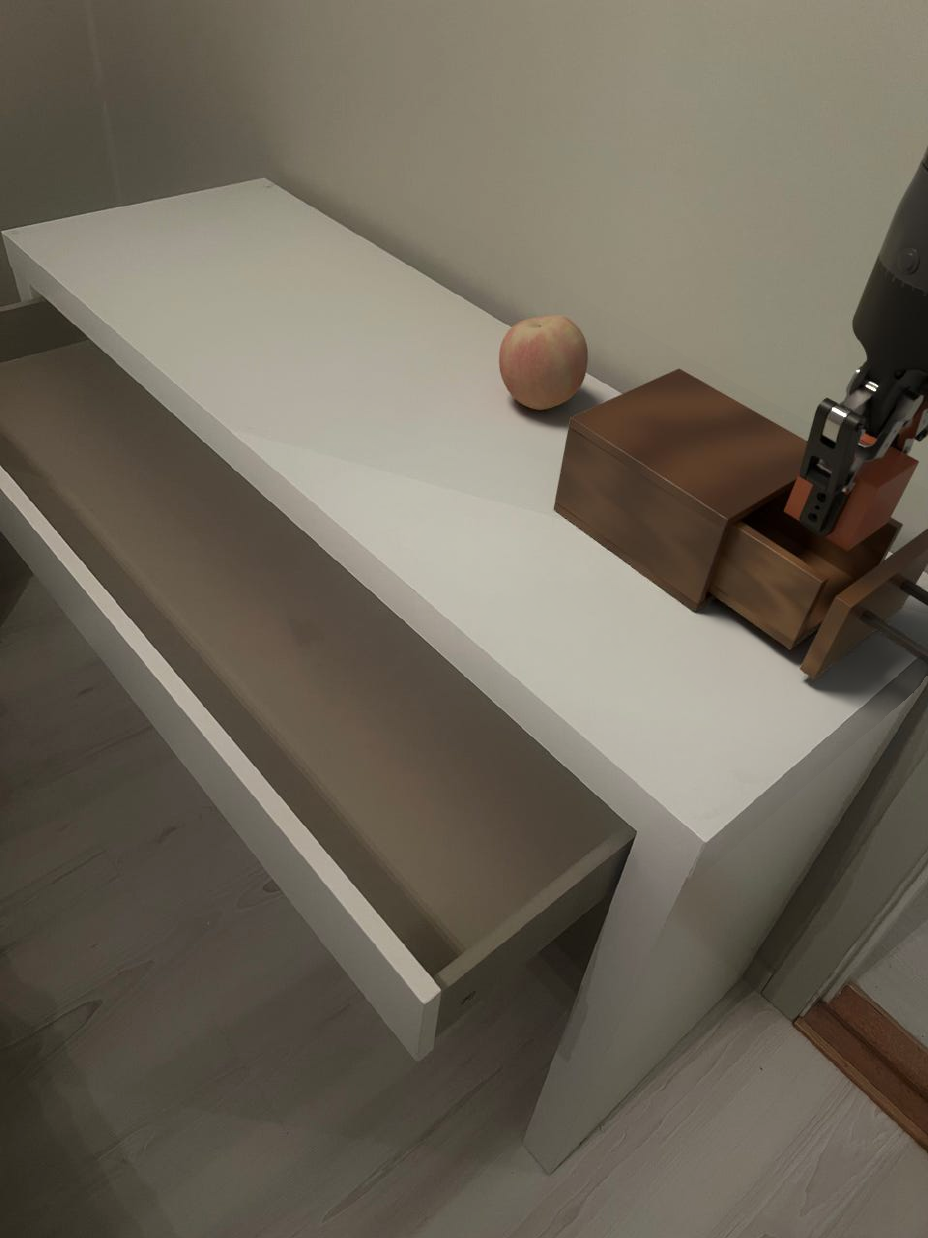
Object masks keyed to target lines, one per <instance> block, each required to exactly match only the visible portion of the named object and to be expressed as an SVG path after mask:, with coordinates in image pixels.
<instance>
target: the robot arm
mask: <svg viewBox="0 0 928 1238" xmlns="http://www.w3.org/2000/svg"><path fill="white" fill-rule="evenodd" d="M889 224H890V225H889V227H888V230H887V232H886V235H885V237H884V240H883V242H882V245H881V247H880V249H879V252H878V255H877V257H876V259H875V261H874V265H873V267H872V270H871V272H870V274H869V277H868V279H867V282H866V285H865V287H864V290H863V292H862V295H861V297H860V300H859V302H858V304H857V307H856V310H855V312H854V315H853V318H852V321H851V324H852V325H851V327H852V332H853V334H854V336H855V338H856V339H857V341H859V342H860V344H861V346H862V347H863V349H864V352H865V355H866V360H865V361H864V362H863V363H862V365H861V366H859V367H858V368H857V369H856V371H854V374H853V375H852V377H851V379H850V380H849V382H848V384H847V385H846V387H845V397H844V399H843V400H842V401H841V402H840V403H839V402H837V401H834V400H833V399H831V398H829V397H825V398H824V399H823V400H822V401H821V402H820V403H819V404H818V405H817V407H816V410H815V412H814V415H813V419H812V423H811V428H810V431H809V434H808V439H807V441H808V442H807V446H806V449H805V453H804V457H803V461H802V465H801V468H800V472H799V477H801V478H803V479H805V480H806V481H808V482H810V483H811V484H813V486H812V489H811V491H810V493H809V496H808V498H807V500H806V503H805V505H804V507H803V510H802V512H801V514H800V517H799V521H800V523H801V525H802V526H804V527H805V528H807V529H809V530H810V531H812V532H814V533H815V534H817V535H818V536H820V537H826V536H828V535H829V534H831V533H832V532H833V531H834V529H835V527H836V525H837V523H838V521H839V518H840V516H841V514H842V512H843V510H844V508H845V506H846V503H847V501H848V499H849V497H850V495H851V493H852V491H853V490H854V488H855V487H856V485H857V482H858V481H859V479H860V477H861V476H862V474H863V473H864V471H865V469H866V468H867V466H868V464H869V463H870V462H874V461H879V460H880V459H882V457H883V456H884V454H885V453H886V451H887V449H888V448H889V446H892V447H894V448H896V449H897V450H899V451H901V452H903V453H905V454H907V455H909V454H910V452H911V451H912V447H913V446H914V445H913V444H914V442H915V441H917V442H919V443H920V442H922V441H924V439H926V438H927V437H928V145H927V146H926V149H925V151H924V154H923V156H922V159H921V160H920V162H919V165H918V167H917V169H916V171H915V173H914V175H913V177H912V179H911V181H910V183H909V184H908V186H907V187H906V189H905V191H904V193H903V195H902V197H901V199H900V201H899V203H898V204H897V207H896V209H895V212H894V214H893V217H892V219H891V222H890V223H889ZM864 433H865V434H867V435H869V436H871V437H874V438H876V439H877V440H876V441H875V443H874V444H872V445H870V444H869V443H867V442H865V441H863V440H861V439H860V437H862V436H863V435H864ZM854 455H855V457H856V459H855V461H854V463H853V465H852V462H853V458H854ZM851 465H852V466H851Z"/></svg>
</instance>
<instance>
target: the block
mask: <svg viewBox="0 0 928 1238" xmlns="http://www.w3.org/2000/svg"><path fill="white" fill-rule="evenodd" d="M860 439H861V440H863V441H865V442H867V443H869V444H870V445H872V444H874V443H875V441H876V440H877V439H876V438H874V437H871V436H869V435H867V434H865V433H864V435H863V436H862V437H860ZM855 459H856V457H855V455H854V458H853V462H852V465H853V463H854V461H855ZM919 463H920V461H919V460H917V459H916V458H914V457H913V456H910V455H909V454H908V455H907V454H905V453H903V452H901V451H899V450H897V449H896V448H894V447H892V446H889V448H888V449H887V451H886V453H885V454H884V456H883V457H882V459H880V460H879V461H874V462H870V463H869V464H868V466H867V468H866V469H865V471H864V473H863V474H862V476H861V477H860V479H859V481H858V482H857V485H856V487H855V488H854V490H853V491H852V493H851V495H850V497H849V499H848V501H847V503H846V506H845V508H844V510H843V512H842V514H841V516H840V518H839V521H838V523H837V525H836V527H835V529H834V531H833V532H832V533H831V534H829V535H828V536H826V537H825V538H827V539H829V540H830V541H832V542H833V543H835V544H837V545H838V546H840V547H841V548H843V549H845V550H846V551H848V550H850V549H851V548H853V547H854V546H856V545H857V544H858V543H860V542H861V541H863V540H864V539H865V538H867V537H868V536H870V535H871V534H873V533H874V532H875V531H877V530H878V529H880V528H881V527H882V526H884V525H885V524H887V523H888V522H889V520H890V518H892V516H893V514H894V512H895V510H896V508H897V506H898V504H899V502H900V500H901V498H902V496H903V494H904V492H905V491H906V488H907V487H908V485H909V483H910V481H911V480H912V477H913V475H914V473H915V471H916V469H917V468H918V465H919ZM852 465H851V466H852ZM812 486H813V484H811V483H810V482H808V481H806V480H805V479H803V478H801V477H799V475H798V477H797V480H796V482H795V485H794V487H793V490H792V492H791V495H790V497H789V500H788V502H787V504H786V507H785V509H784V512H785V513H787V514H788V515H790V516H792V517H793V518H795V519H796V520H798V521H799V517H800V514H801V512H802V510H803V507H804V505H805V503H806V500H807V498H808V496H809V493H810V491H811V489H812Z"/></svg>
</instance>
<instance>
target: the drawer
mask: <svg viewBox="0 0 928 1238" xmlns="http://www.w3.org/2000/svg"><path fill="white" fill-rule="evenodd" d="M792 490H793V487H792V488H791V489H789V490H787V491H786V492H784V493H783V494H781V495H779V496H778V497H776V498H774V499H773V500H771V501H769V502H768V503H766V504H765V505H763V506H761V507H760V508H758V509H756V510H755V511H753V512H751V513H750V514H748V515H746V516H745V517H743V518H742V519H740V520H738V521H737V522H735V523H733V524H732V525H731V527H730V530H729V533H728V535H727V538H726V541H725V544H724V546H723V549H722V552H721V555H720V557H719V560H718V563H717V566H716V569H715V571H714V574H713V577H712V580H711V582H710V585H709V588H708V592H709V593H711V594H712V595H714V596H715V597H716V599H718V600H719V601H720V602H722V603H724V604H725V605H726V606H727V607H729V608H731V609H732V610H733V611H735V612H736V613H738V615H740V616H741V617H743V618H745V619H746V620H747V621H749V622H750V623H752V624H753V625H754V626H755V627H757V628H759V629H760V630H761V631H762V632H764V633H765V634H767V635H768V636H770V637H771V638H773V639H774V640H776V641H777V642H778V643H780V644H781V645H782V646H784V647H785V648H787V649H788V650H789V651H791V650H792V649H794V648H795V647H796V646H797V645H799V644H800V643H802V642H803V641H804V640H806V639H807V638H808V637H809V636H811V635H812V634H813V633H814V632H816V634H815V637H814V638H813V641H812V642H811V644H810V646H809V649H808V650H807V653H806V655H805V657H804V658H803V660H802V662H801V664H800V666H799V671H801V672H802V673H804V674H805V675H806V676H808V677H809V678H811V680H815V679H817V678H818V677H819V676H820V675H822V674H823V673H824V672H825V671H827V670H828V669H829V668H831V667H832V666H833V665H834V664H835V663H837V662H838V661H839V660H840V659H842V658H843V657H844V656H845V655H846V654H848V653H849V652H850V651H852V650H853V649H854V648H855V647H857V646H858V645H859V644H860V643H861V642H863V641H864V640H865V639H866V638H868V637H869V636H870V635H871V634H873V633H874V632H875V631H876V632H878V633H880V635H883V636H884V637H886V638H887V639H888V640H890V641H892V642H893V643H894V644H896V645H898V646H899V647H901V649H904V650H905V651H907V652H908V653H910V654H911V655H913V656H914V657H915V658H917V659H919V660H920V661H922V662H924V664H926V665H928V647H926V646H924V645H923V644H921V643H920V642H918V641H917V640H915V639H914V638H912V637H910V636H909V635H907V634H906V633H904V632H903V631H901V630H900V629H898V628H897V627H895V626H893V625H891V624H890V623H889V622H888V620H890V619H891V618H892V617H894V616H895V615H896V614H898V613H899V612H900V611H901V610H902V609H903V608H904V606H905V604H906V602H907V601H908V599H909V597H912V598H914V599H916V600H917V601H918V602H920V603H922V604H923V605H925V606H927V607H928V590H927V589H924V588H923V587H921V586H919V585H918V582H919V579H920V578H921V577H922V575H923V573H924V571H925V569H926V568H927V566H928V528H926V529H924V530H923V531H922V532H920V533H919V534H917V535H916V536H915V537H913V538H912V539H911V540H909V541H908V542H907V543H906V544H904V545H903V546H902V547H900V548H899V549H897V550H895V552H893V553H892V554H890V556H888V554H889V552H890V551H891V549H892V546H893V545H894V543H895V541H896V540H897V537H898V536H899V534H900V532H901V530H902V528H903V526H904V524H903V523H902V522H900V521H898V520H896V518H893V517H891V518H890V520H889V522H888V523H887V524H885V525H884V526H882V527H881V528H880V529H878V530H877V531H875V532H874V533H873V534H871V535H870V536H868V537H867V538H865V539H864V540H863V541H861V542H860V543H858V544H857V545H856V546H854V547H853V548H851V549H850V550H848V551H846V550H845V549H843V548H841V547H840V546H838V545H837V544H835V543H833V542H832V541H830V540H829V539H827V538H825V537H820V536H818V535H817V534H815V533H814V532H812V531H810V530H809V529H807V528H805V527H804V526H802V525H801V523H800V521H798V520H796V519H795V518H793V517H792V516H790V515H788V514H787V513H785V512H784V509H785V507H786V504H787V502H788V500H789V497H790V495H791V492H792ZM887 556H888V557H887Z"/></svg>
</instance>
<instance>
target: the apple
mask: <svg viewBox="0 0 928 1238" xmlns="http://www.w3.org/2000/svg"><path fill="white" fill-rule="evenodd" d="M588 358H589V353H588V345H587V341H586V338H585V335H584V334H583V332H582V330H581V329H580V327H579V326H577V324H576V323H574V322H573V321H572V320H571V319H570V318H568V317H566V316H563V315H558V314H553V315H546V316H539V317H531V318H526V319H523V320H521V321H520V322H518V323H516V324H514V325H513V326H511V327H510V328H509V329H508V331H507V332H506V333H505V335H504V336H503V338H502V341H501V344H500V346H499V352H498V368H499V374H500V376H501V380H502V382H503V384H504V386H505V388H506V390H507V391H508V393H509V394H510V395H511V396H512V397H513V398H514V399H515V401H517V403H520V404H521V405H523V406H524V407H527V408H530V409H532V410H538V411H542V410H548V409H551V408H554V407H556V406H559V405H562V404H564V403H565V402H567V401H569V400H570V399H571V398H572V397H574V395H576V393H577V392H578V391H579V390H580V388H581V386H582V385H583V383H584V381H585V378H586V373H587V369H588V363H589V362H588V360H589V359H588Z"/></svg>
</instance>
